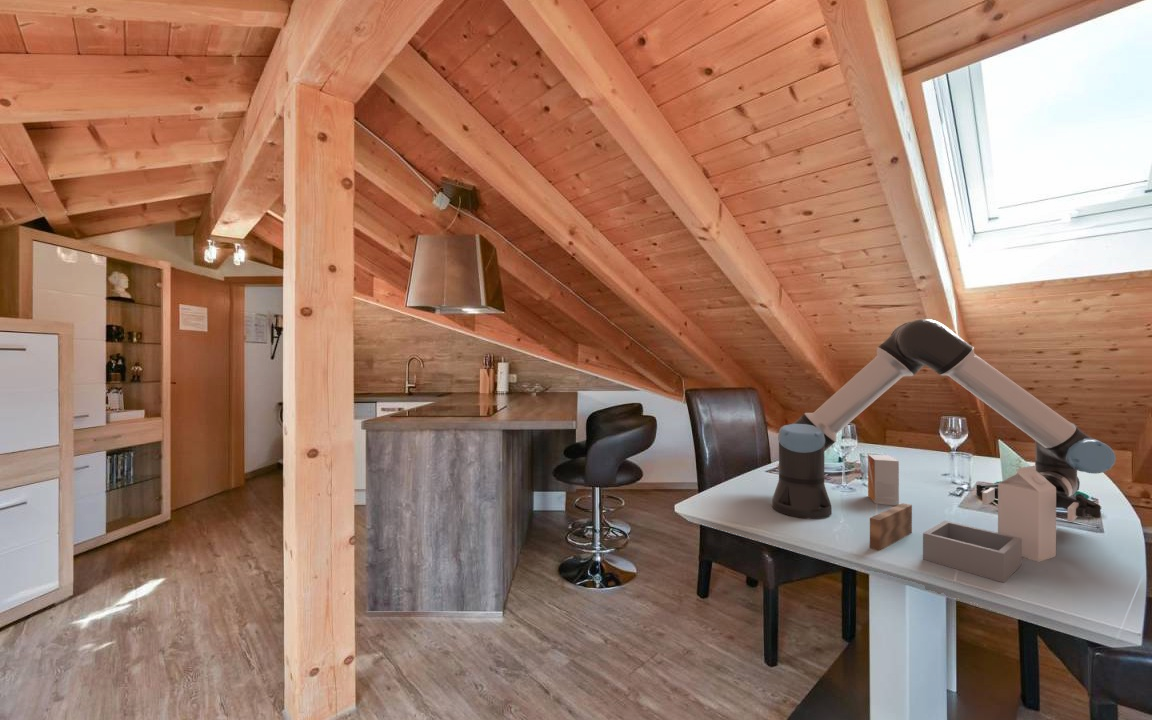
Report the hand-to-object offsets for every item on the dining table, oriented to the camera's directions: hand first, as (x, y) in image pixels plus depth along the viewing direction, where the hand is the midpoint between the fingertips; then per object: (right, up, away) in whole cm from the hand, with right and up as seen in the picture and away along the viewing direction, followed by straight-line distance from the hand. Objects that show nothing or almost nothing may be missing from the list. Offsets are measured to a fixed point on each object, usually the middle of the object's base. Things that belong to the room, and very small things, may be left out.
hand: (1024, 506), depth 102 cm
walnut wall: (-23, -11, +9) cm, 27 cm away
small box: (-5, -11, +40) cm, 42 cm away
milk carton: (+2, -11, +2) cm, 11 cm away
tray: (-14, -11, -3) cm, 18 cm away
